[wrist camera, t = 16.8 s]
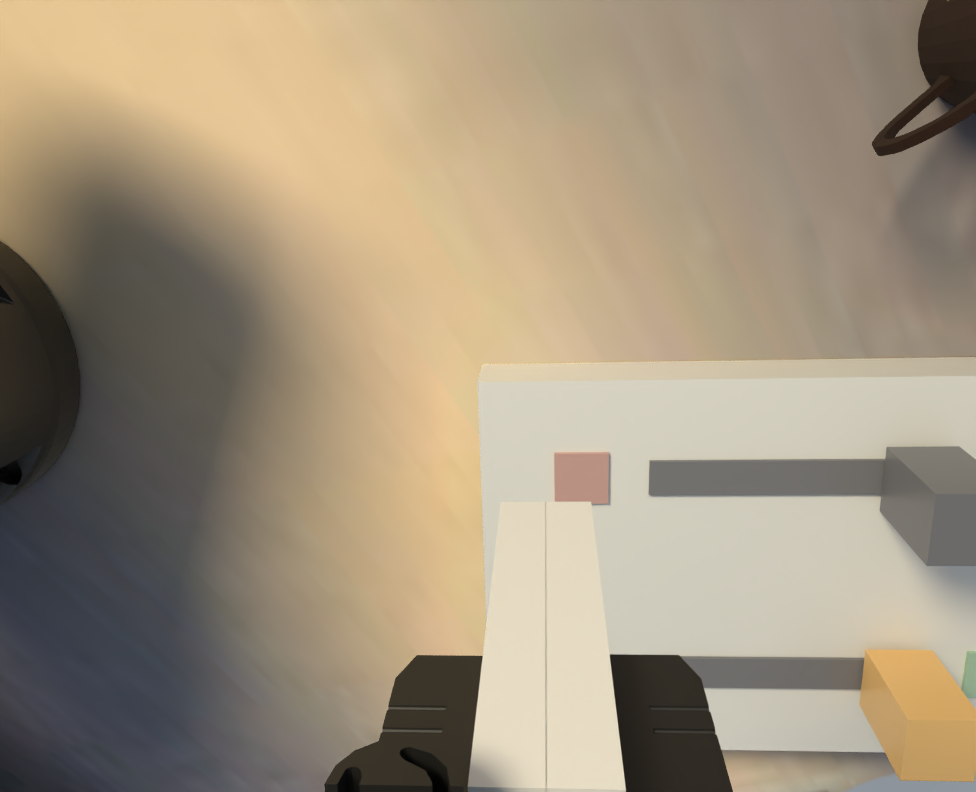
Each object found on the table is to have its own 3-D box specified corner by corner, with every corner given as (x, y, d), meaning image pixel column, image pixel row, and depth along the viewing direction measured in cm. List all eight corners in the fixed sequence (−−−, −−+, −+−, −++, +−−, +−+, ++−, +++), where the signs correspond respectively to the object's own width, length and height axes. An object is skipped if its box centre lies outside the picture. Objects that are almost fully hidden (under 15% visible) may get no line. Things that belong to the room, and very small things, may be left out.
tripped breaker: (859, 704, 42) (899, 780, 37) (865, 649, 41) (907, 719, 36) (924, 705, 41) (974, 781, 37) (932, 650, 40) (984, 720, 36)
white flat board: (494, 708, 47) (490, 749, 44) (482, 364, 41) (477, 383, 38) (1040, 715, 45) (1076, 758, 42) (1107, 355, 39) (1154, 374, 36)
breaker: (879, 510, 39) (926, 566, 34) (886, 446, 38) (935, 494, 33) (950, 510, 38) (1007, 566, 34) (958, 446, 37) (1019, 493, 33)
